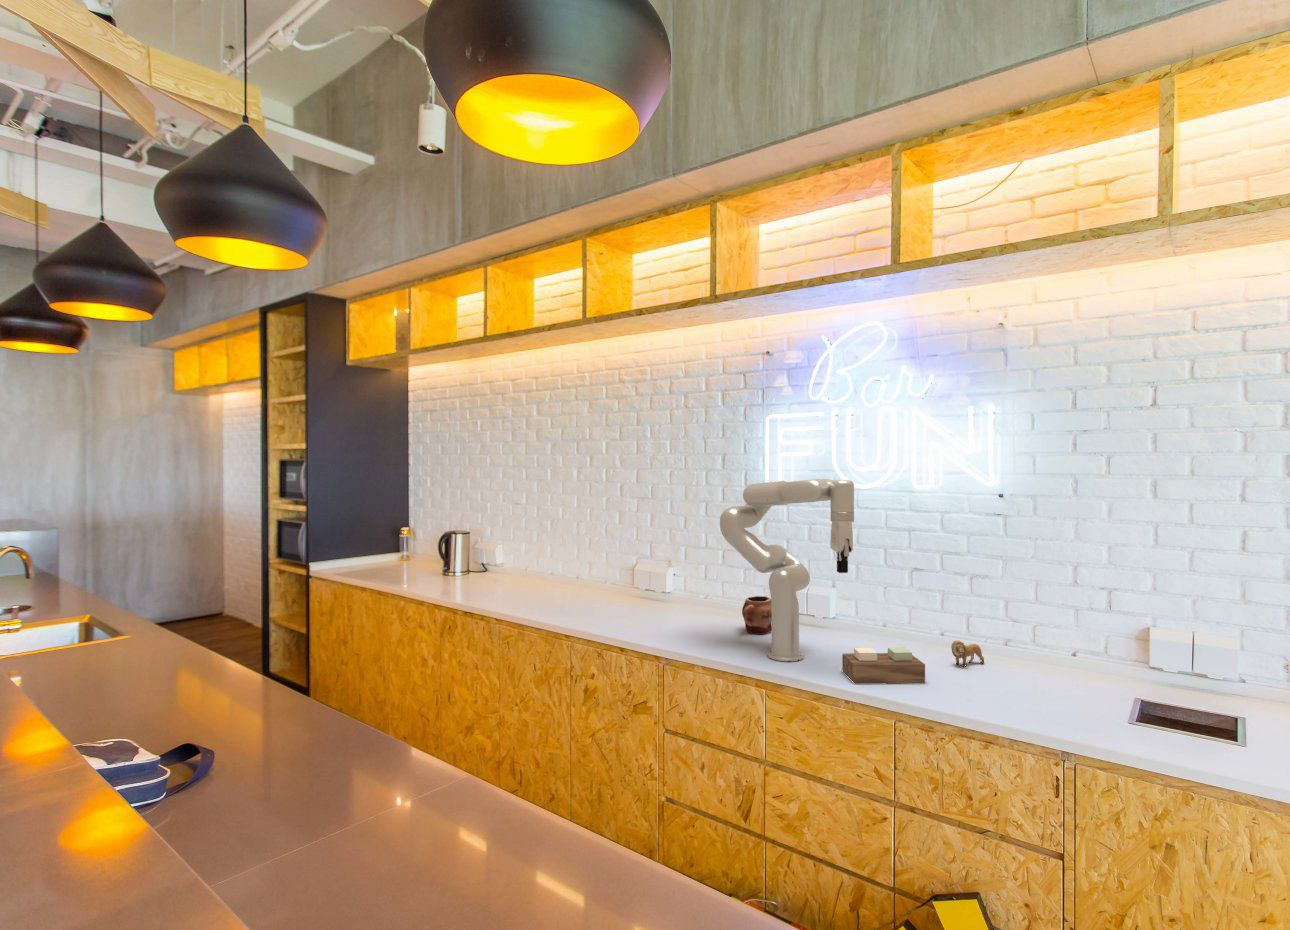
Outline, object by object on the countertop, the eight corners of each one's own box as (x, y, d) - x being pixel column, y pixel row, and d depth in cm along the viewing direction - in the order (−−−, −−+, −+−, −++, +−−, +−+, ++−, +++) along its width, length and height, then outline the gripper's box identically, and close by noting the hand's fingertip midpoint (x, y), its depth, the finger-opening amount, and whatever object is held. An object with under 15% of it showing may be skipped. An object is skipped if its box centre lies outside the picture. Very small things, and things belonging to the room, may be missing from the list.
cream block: (853, 669, 214) (853, 647, 214) (871, 669, 214) (871, 647, 214) (859, 675, 208) (859, 652, 208) (877, 674, 208) (877, 652, 208)
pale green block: (887, 669, 214) (887, 647, 214) (905, 669, 214) (905, 647, 214) (894, 674, 208) (894, 652, 208) (912, 674, 209) (912, 652, 208)
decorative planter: (760, 640, 255) (760, 604, 255) (732, 635, 262) (732, 600, 262) (781, 629, 272) (781, 595, 272) (754, 625, 279) (754, 592, 279)
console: (842, 671, 217) (842, 653, 217) (909, 671, 217) (909, 653, 217) (854, 684, 205) (854, 664, 205) (925, 683, 205) (925, 664, 205)
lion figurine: (961, 670, 218) (961, 643, 218) (946, 666, 223) (946, 639, 223) (988, 663, 226) (988, 637, 225) (973, 659, 230) (973, 633, 230)
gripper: (824, 515, 227) (824, 568, 227) (837, 519, 212) (837, 576, 213) (846, 515, 227) (846, 568, 228) (861, 519, 212) (861, 576, 213)
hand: (842, 572), depth 220 cm, fingers closed
